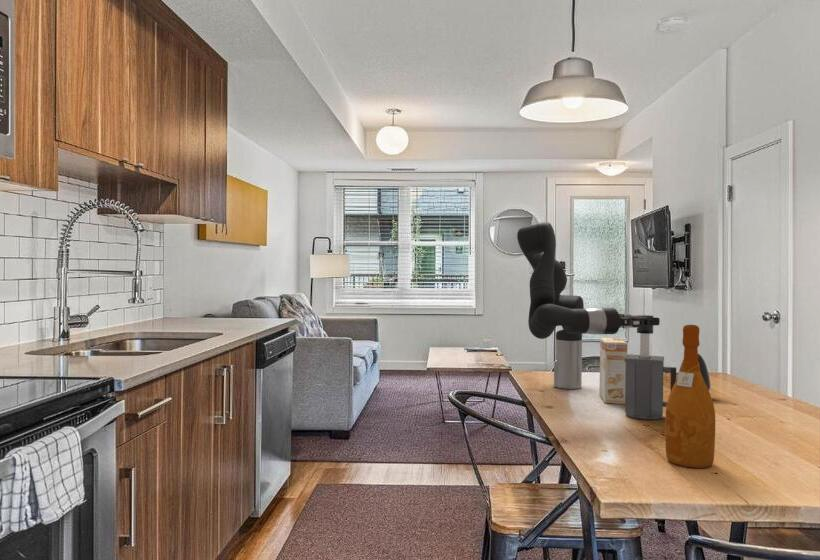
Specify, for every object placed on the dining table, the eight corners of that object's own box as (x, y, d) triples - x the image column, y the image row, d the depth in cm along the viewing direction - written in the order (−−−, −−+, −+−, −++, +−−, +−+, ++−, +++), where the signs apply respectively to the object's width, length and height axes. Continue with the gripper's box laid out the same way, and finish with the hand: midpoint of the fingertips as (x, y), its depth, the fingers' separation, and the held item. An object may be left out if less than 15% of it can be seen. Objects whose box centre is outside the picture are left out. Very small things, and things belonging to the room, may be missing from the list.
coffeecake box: (627, 404, 190) (628, 342, 190) (603, 403, 191) (604, 342, 191) (620, 395, 204) (621, 337, 204) (598, 394, 206) (599, 337, 206)
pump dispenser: (703, 395, 206) (703, 350, 206) (715, 401, 196) (716, 354, 196) (672, 394, 207) (672, 350, 207) (682, 400, 197) (683, 354, 197)
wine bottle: (656, 456, 136) (658, 322, 135) (698, 455, 136) (700, 323, 136) (679, 470, 126) (681, 326, 125) (724, 469, 127) (726, 326, 126)
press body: (623, 417, 172) (624, 358, 172) (627, 410, 181) (627, 354, 181) (675, 423, 166) (676, 361, 166) (676, 415, 175) (676, 357, 175)
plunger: (629, 395, 172) (629, 315, 172) (631, 391, 179) (632, 314, 179) (657, 398, 169) (658, 316, 169) (659, 393, 176) (659, 315, 176)
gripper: (611, 309, 164) (668, 309, 167) (587, 306, 178) (640, 306, 181) (611, 336, 164) (668, 336, 167) (587, 331, 179) (640, 331, 182)
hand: (653, 320), depth 174 cm, fingers closed on plunger, 4 cm apart
